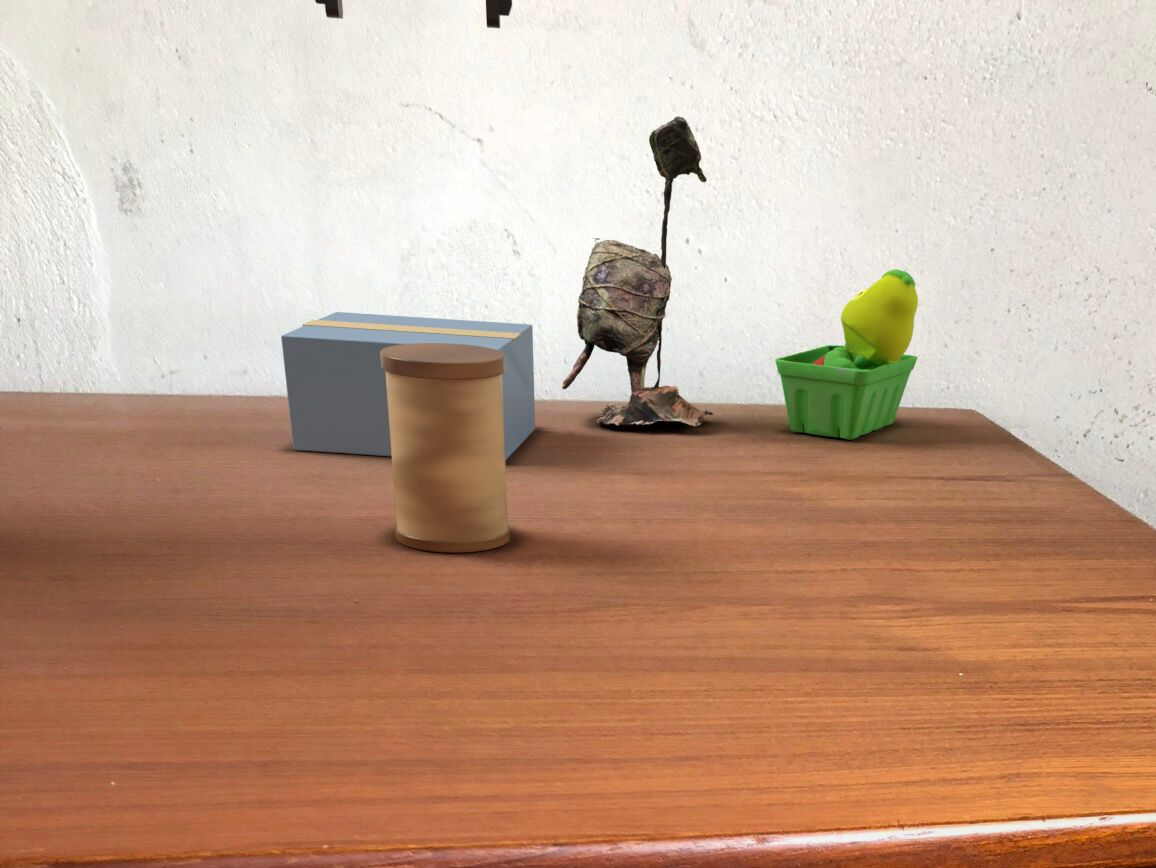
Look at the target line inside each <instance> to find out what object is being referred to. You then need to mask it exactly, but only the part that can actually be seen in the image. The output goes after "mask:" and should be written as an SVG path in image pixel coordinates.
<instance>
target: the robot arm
mask: <svg viewBox="0 0 1156 868" xmlns="http://www.w3.org/2000/svg"><path fill="white" fill-rule="evenodd" d="M314 3H316V4H318V5H324V11H325V15H326V18H329V19H341V20H342V19H344V7H343V0H314ZM512 8H513V0H485V16H486V17H485V19H486V28H487V29H501V17H509V16H510V14H511V11H512Z"/></svg>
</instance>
